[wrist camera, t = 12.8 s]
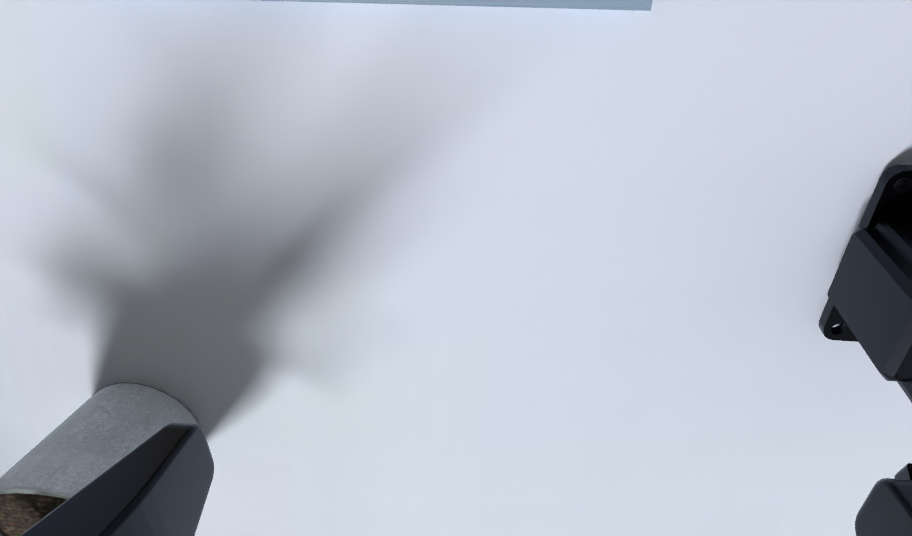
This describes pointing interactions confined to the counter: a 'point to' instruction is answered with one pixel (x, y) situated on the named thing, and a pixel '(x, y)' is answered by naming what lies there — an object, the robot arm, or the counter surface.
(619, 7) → the board
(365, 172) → the counter surface
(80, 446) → the house plant
